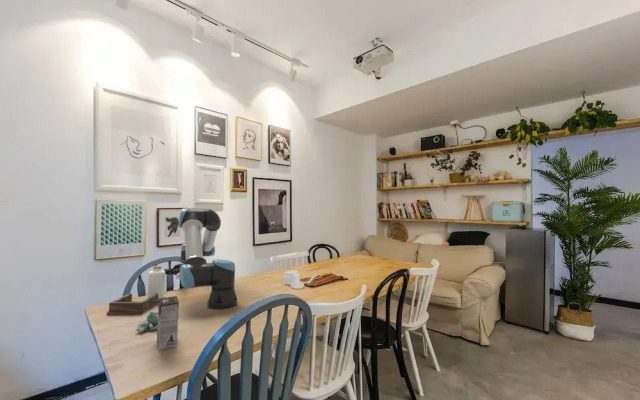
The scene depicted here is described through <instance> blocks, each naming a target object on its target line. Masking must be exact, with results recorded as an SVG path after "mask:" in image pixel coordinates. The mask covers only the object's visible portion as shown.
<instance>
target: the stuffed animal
mask: <svg viewBox="0 0 640 400" xmlns="http://www.w3.org/2000/svg"><path fill="white" fill-rule="evenodd" d="M147 329H149V331H151V332H152V331H157V329H158V311H157V310H156V311H150V312H149V314H147V316H146V319H145V320H142V321H140V322H138V323H137V325H136V329H135V331H136V333H137V332H139V333H143V332H144V331H145V330H147Z"/></svg>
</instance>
